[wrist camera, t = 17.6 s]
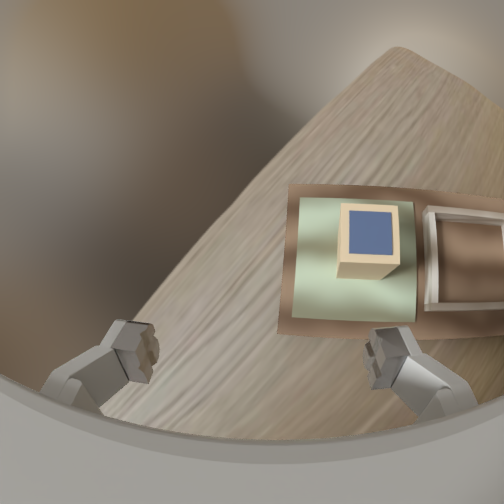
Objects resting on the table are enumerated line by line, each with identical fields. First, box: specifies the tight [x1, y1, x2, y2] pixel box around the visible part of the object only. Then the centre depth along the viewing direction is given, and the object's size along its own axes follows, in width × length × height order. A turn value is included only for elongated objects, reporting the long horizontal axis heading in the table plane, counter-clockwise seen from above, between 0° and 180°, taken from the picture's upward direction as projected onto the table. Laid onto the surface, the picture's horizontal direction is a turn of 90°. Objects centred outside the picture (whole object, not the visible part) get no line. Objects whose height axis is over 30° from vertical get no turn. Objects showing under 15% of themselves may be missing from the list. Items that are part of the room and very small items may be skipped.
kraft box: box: [336, 203, 400, 280], centre depth 26 cm, size 5×5×9 cm
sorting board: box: [277, 184, 504, 340], centre depth 28 cm, size 18×32×4 cm, turn 84°
